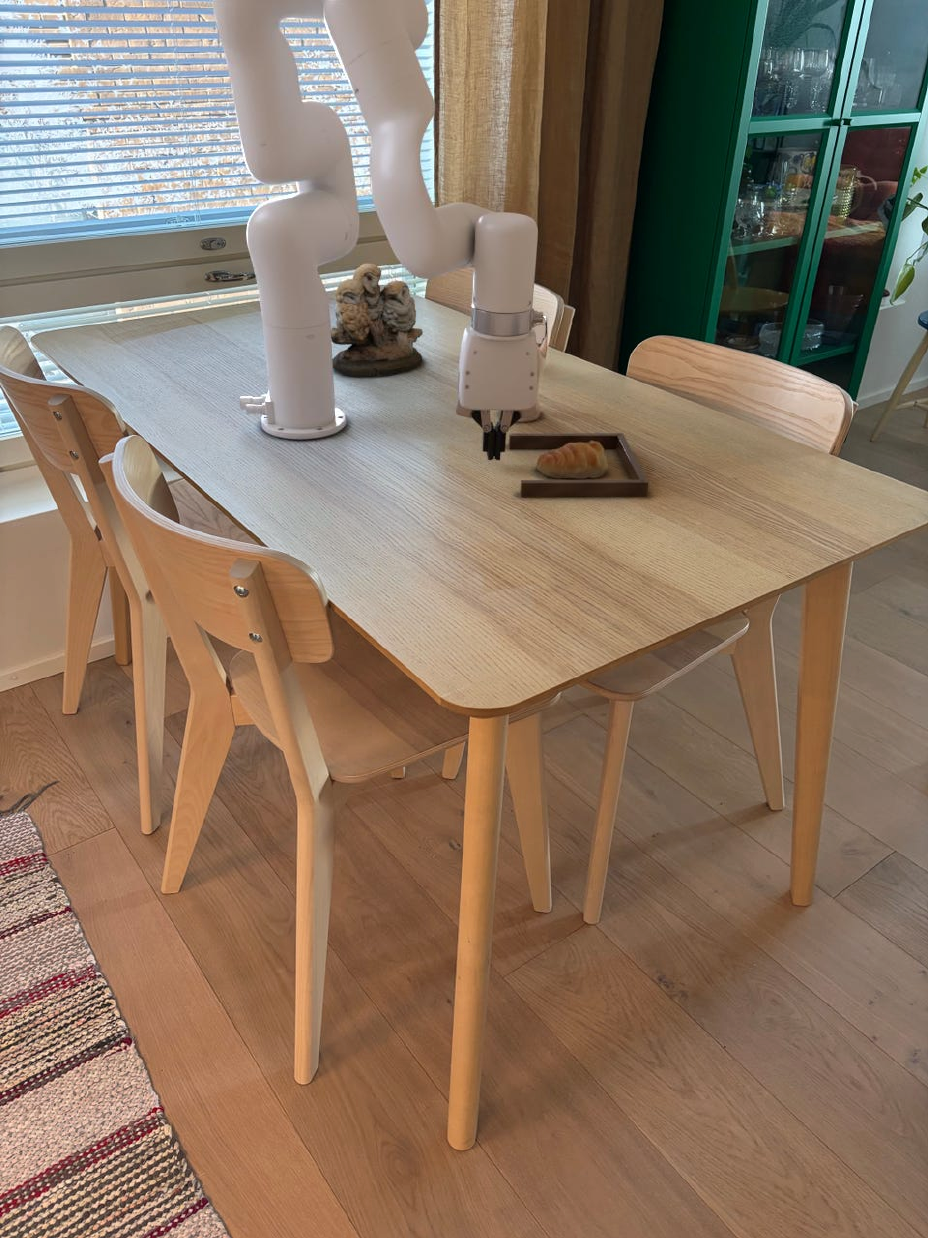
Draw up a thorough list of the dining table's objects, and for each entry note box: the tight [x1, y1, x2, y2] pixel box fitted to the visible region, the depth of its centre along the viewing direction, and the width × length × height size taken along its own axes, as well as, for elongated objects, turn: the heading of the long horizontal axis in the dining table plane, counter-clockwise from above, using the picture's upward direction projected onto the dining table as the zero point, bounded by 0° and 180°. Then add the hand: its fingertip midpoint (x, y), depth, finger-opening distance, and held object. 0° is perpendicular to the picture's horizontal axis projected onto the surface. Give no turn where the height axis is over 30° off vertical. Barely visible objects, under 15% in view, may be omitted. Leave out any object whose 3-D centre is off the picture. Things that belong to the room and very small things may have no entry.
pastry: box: [535, 441, 609, 480], centre depth 130 cm, size 9×7×4 cm
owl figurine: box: [331, 263, 424, 378], centre depth 163 cm, size 18×12×17 cm, turn 126°
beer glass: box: [516, 314, 548, 423], centre depth 144 cm, size 7×7×15 cm
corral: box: [508, 432, 649, 498], centre depth 131 cm, size 16×17×2 cm
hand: (493, 456), depth 130 cm, fingers closed
